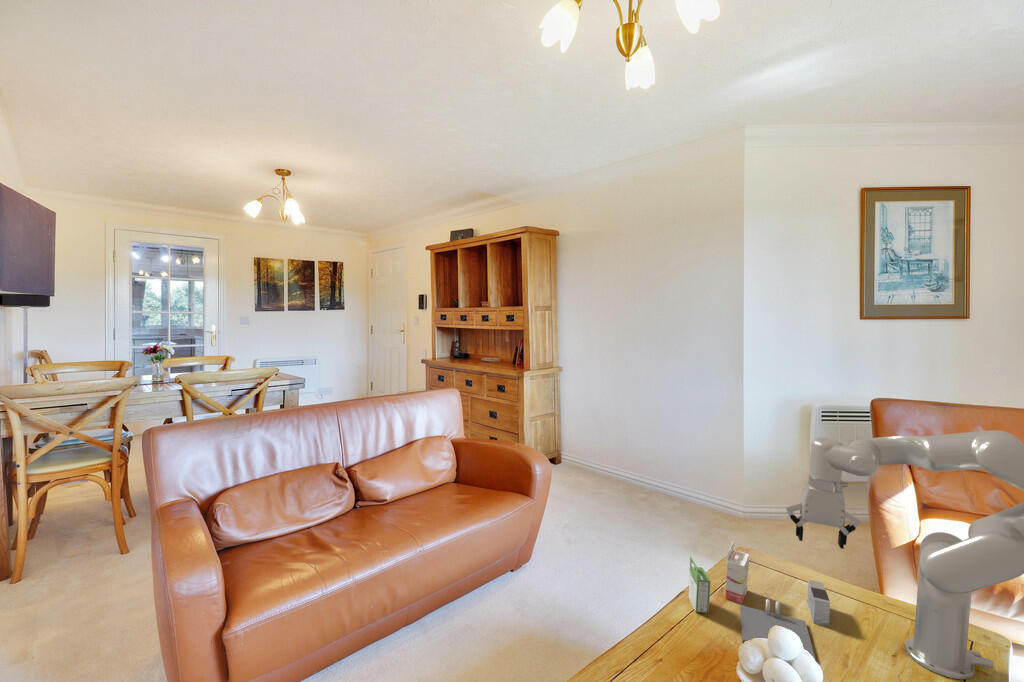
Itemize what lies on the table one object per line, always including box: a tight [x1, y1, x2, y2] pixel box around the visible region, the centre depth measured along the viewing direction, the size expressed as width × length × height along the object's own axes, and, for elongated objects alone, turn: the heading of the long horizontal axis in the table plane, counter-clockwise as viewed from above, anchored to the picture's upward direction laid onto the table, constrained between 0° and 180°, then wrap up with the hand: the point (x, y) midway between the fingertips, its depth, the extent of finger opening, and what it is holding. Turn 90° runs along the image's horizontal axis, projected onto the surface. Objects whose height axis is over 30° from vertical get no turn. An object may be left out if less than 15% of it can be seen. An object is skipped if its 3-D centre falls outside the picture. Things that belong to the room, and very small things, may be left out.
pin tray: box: [739, 598, 816, 659], centre depth 124 cm, size 16×15×5 cm
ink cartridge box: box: [724, 541, 750, 605], centre depth 140 cm, size 9×5×15 cm, turn 144°
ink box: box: [688, 555, 711, 614], centre depth 135 cm, size 7×4×13 cm, turn 175°
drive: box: [807, 579, 831, 627], centre depth 132 cm, size 4×10×7 cm, turn 156°
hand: (820, 542), depth 130 cm, fingers open, 9 cm apart
